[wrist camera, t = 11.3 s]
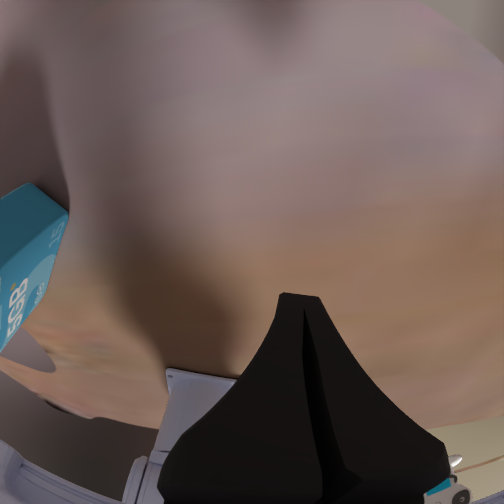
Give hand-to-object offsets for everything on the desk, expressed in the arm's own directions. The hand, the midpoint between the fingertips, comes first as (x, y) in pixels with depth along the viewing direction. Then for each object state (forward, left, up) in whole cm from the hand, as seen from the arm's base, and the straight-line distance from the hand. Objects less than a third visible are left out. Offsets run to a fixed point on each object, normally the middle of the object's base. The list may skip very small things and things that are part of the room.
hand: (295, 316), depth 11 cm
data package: (-6, +21, -11) cm, 24 cm away
